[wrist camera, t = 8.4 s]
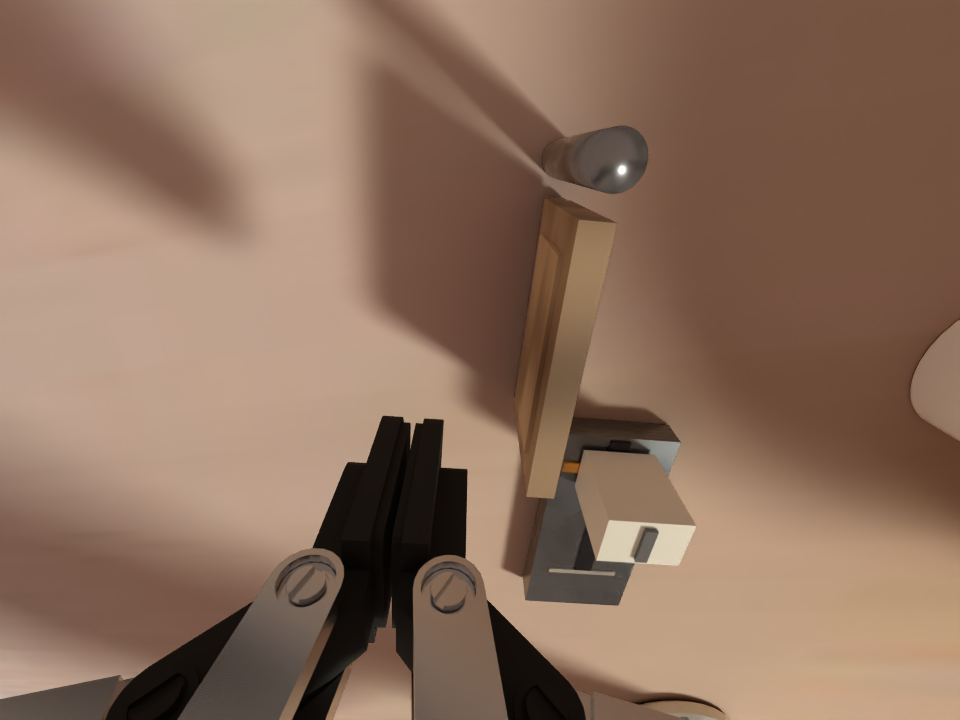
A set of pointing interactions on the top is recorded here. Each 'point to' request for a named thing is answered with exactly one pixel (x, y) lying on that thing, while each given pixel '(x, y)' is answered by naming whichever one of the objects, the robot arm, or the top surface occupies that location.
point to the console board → (560, 523)
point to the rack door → (558, 335)
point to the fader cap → (632, 509)
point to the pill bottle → (940, 383)
